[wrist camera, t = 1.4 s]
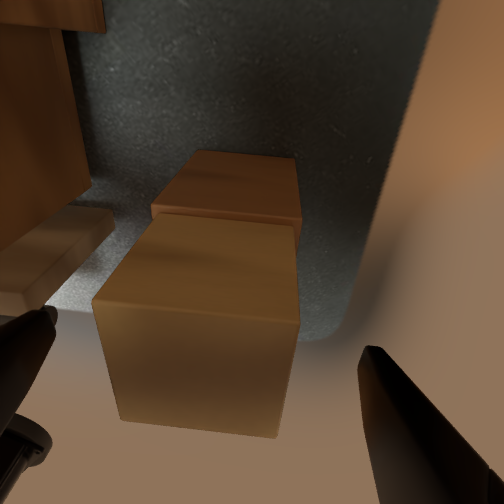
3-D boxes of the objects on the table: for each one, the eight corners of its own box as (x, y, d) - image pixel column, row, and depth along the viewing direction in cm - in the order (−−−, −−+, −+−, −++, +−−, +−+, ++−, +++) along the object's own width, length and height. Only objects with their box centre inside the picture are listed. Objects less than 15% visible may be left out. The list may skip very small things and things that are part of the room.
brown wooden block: (283, 243, 19) (283, 330, 13) (198, 234, 19) (161, 317, 13) (295, 158, 16) (303, 218, 10) (197, 148, 16) (149, 203, 11)
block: (278, 325, 13) (276, 440, 9) (166, 313, 13) (119, 422, 9) (294, 224, 11) (301, 323, 7) (157, 211, 11) (88, 300, 7)
